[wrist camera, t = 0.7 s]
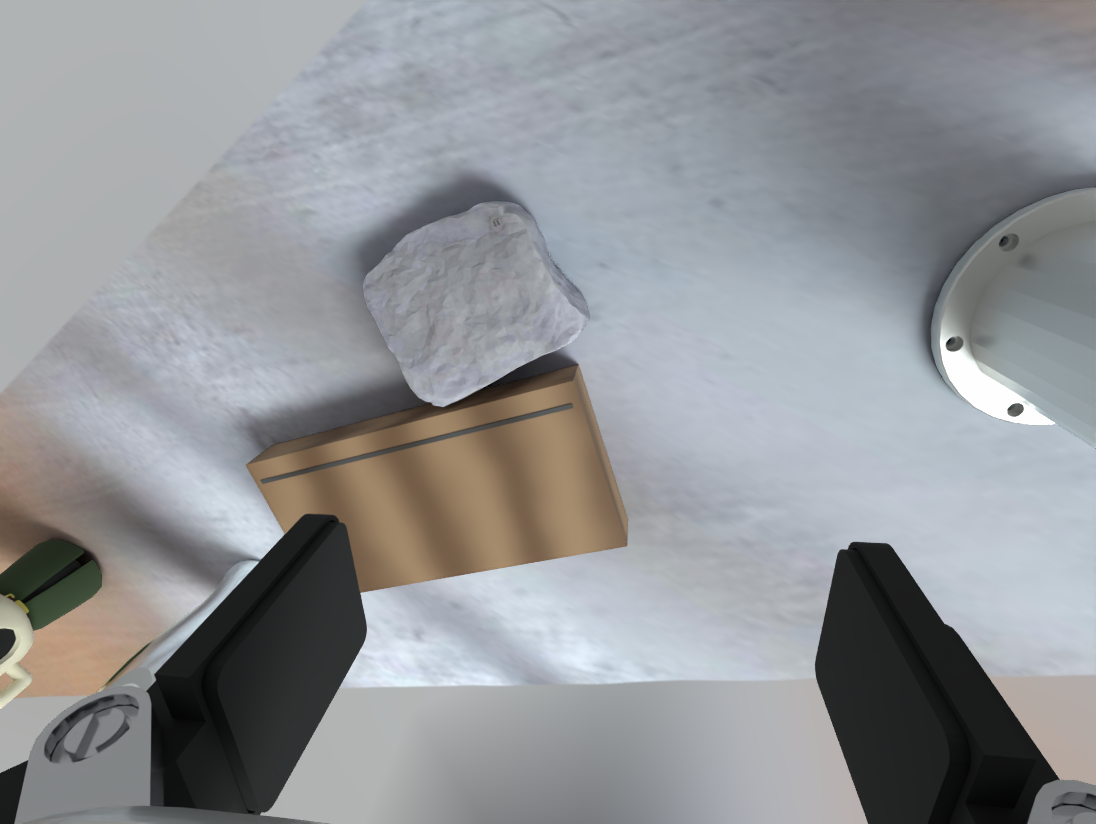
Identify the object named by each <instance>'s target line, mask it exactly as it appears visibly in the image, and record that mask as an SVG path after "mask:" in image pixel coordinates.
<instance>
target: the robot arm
mask: <svg viewBox="0 0 1096 824" xmlns="http://www.w3.org/2000/svg"><path fill="white" fill-rule="evenodd" d="M1002 238H1004V240H1003V242H1002V243H1001V244H1000V245H999V242H1000V240H1001V239H1002ZM950 338H951V340H950V342H948V343H946V342H947V341H948V340H949V339H950ZM931 349H932V352H933V356H934V360H935V363H936V367H937V368H938V370H939V372H940V374H941V376H942V377H943V379H944V381H945V383H946V384H947V385H948V386H949V387H950V388H951V389H952V390H953V391H954V392H955V393H956V394H957V395H958V396H959V397H960V398H961V399H963V400H964V401H966V402H967V403H968V404H969V405H971V406H972V407H973V408H975V409H977V410H979V411H981V412H983V413H985V414H987V415H989V416H991V417H993V418H996V419H1000V420H1003V421H1006V422H1010V423H1017V424H1026V425H1055V424H1057V425H1058V426H1060V427H1062V428H1063V429H1065V430H1066V431H1068V432H1070V433H1071V434H1073V435H1074V436H1076V437H1078V438H1079V439H1081V440H1082V441H1084V442H1085V443H1087V444H1089V445H1090V446H1092V447H1093V448H1095V449H1096V187H1092V188H1083V189H1075V190H1071V191H1068V192H1064V193H1060V194H1057V195H1053V196H1050V197H1046V198H1044V199H1042V200H1040V201H1037V202H1035V203H1033V204H1031V205H1029V206H1026V207H1024V208H1022V209H1020V210H1018V211H1017V212H1015V213H1013V214H1012V215H1010V216H1009V217H1007V218H1006V219H1004V220H1002V221H1001V222H999V223H998V224H996V225H995V226H994V227H992V228H991V229H990V230H989V231H988V232H987V233H985V234H984V235H983V236H982V237H981V238H980V239H978V240H977V241H976V242H975V243H974V244H973V245H972V246H971V247H970V249H969V250H968V251H967V252H966V253H965V254H964V256H963V257H962V258H961V259H960V260H959V261H958V262H957V264H956V265H955V267H954V268H953V270H952V272H951V273H950V275H949V277H948V278H947V280H946V281H945V283H944V285H943V287H942V290H941V292H940V295H939V297H938V300H937V302H936V305H935V308H934V313H933V318H932V324H931ZM366 633H367V625H366V619H365V614H364V609H363V605H362V600H361V595H360V590H359V585H358V580H357V575H356V570H355V565H354V560H353V556H352V551H351V546H350V541H349V536H348V531H347V527H346V525H345V524H344V523H342V522H339V519H338V518H337V517H336V516H335V515H328V514H309V513H308V514H305V515H303V516H302V517H301V518H300V519H299V520H298V521H297V522H296V523H295V524H294V525H293V526H292V527H291V528H290V530H289V531H288V532H287V533H286V534H285V535H284V536H283V537H282V538H281V539H280V540H279V541H278V542H277V543H276V545H275V546H274V547H273V548H272V549H271V550H270V551H269V552H268V553H267V554H266V555H265V556H264V557H263V558H262V559H261V561H260V562H259V563H258V564H257V565H256V566H255V567H254V568H253V569H252V570H251V571H250V572H249V573H248V574H247V576H246V577H245V578H244V579H243V580H242V581H241V582H240V583H239V584H238V585H237V586H236V587H235V588H234V589H233V590H232V592H231V593H230V594H229V595H228V596H227V597H226V598H225V599H224V600H223V601H222V602H221V603H220V604H219V605H218V607H217V608H216V609H215V610H214V611H213V612H212V613H211V614H210V615H209V616H208V617H207V618H206V619H205V620H204V621H203V623H202V624H201V625H200V626H199V627H198V628H197V629H196V630H195V631H194V632H193V633H192V634H191V635H190V636H189V638H188V639H187V640H186V641H185V642H184V643H183V644H182V645H181V646H180V647H179V648H178V649H177V650H176V651H175V652H174V654H173V655H172V656H171V657H170V658H169V659H168V660H167V661H166V662H165V663H164V664H163V665H162V666H161V667H160V669H159V670H158V671H157V672H156V673H155V674H154V676H155V678H156V681H155V682H154V683H153V684H152V685H151V686H150V687H149V688H148V690H147V691H144V690H143V689H142V688H139V687H134V686H121V687H113V688H110V689H106V690H103V691H100V692H97V693H95V694H92V695H90V696H88V697H86V698H84V699H82V700H80V701H78V702H77V703H75V704H74V705H72V706H70V707H69V708H67V709H66V710H64V711H63V712H62V713H60V714H59V715H58V716H57V717H56V718H55V719H54V720H52V721H51V722H50V723H49V724H48V725H47V726H46V727H45V729H44V730H43V731H42V732H41V734H40V735H39V736H38V738H37V739H36V741H35V743H34V745H33V748H32V750H31V752H30V756H29V760H27V761H25V762H23V763H21V764H19V765H17V766H14V767H12V768H10V769H8V770H6V771H4V772H1V773H0V824H328V823H320V822H311V821H304V820H295V819H288V818H279V817H271V816H261V815H260V814H261V812H267V811H268V810H269V809H270V808H271V807H272V806H273V805H274V803H275V801H276V799H277V798H278V796H279V794H280V792H281V791H282V789H283V787H284V785H285V784H286V782H287V780H288V778H289V776H290V775H291V773H292V771H293V769H294V767H295V766H296V764H297V762H298V760H299V758H300V757H301V755H302V753H303V751H304V750H305V748H306V746H307V744H308V742H309V741H310V739H311V737H312V735H313V733H314V732H315V730H316V728H317V726H318V724H319V723H320V721H321V719H322V717H323V716H324V714H325V712H326V710H327V708H328V707H329V704H330V703H331V701H332V699H333V698H334V696H335V694H336V692H337V690H338V689H339V687H340V685H341V683H342V681H343V680H344V678H345V676H346V674H347V673H348V671H349V669H350V667H351V665H352V664H353V662H354V660H355V658H356V656H357V655H358V653H359V651H360V649H361V647H362V646H363V643H364V641H365V638H366ZM815 672H816V678H817V682H818V685H819V688H820V690H821V694H822V696H823V699H824V702H825V705H826V708H827V710H828V713H829V716H830V719H831V721H832V724H833V727H834V730H835V732H836V735H837V738H838V741H839V744H840V746H841V749H842V752H843V755H844V758H845V760H846V763H847V766H848V769H849V771H850V774H851V777H852V780H853V783H854V785H855V788H856V791H857V794H858V797H859V799H860V802H861V805H862V808H863V810H864V813H865V816H866V819H867V822H868V824H1096V786H1095V785H1092V784H1088V783H1084V782H1081V781H1076V780H1060V779H1059V778H1058V776H1057V775H1056V774H1055V772H1054V771H1053V769H1052V768H1051V766H1050V765H1049V764H1048V762H1047V761H1046V759H1045V758H1044V756H1043V755H1042V754H1041V752H1040V751H1039V749H1038V748H1037V746H1036V745H1035V743H1034V742H1033V741H1032V739H1031V738H1030V736H1029V735H1028V733H1027V732H1026V731H1025V729H1024V728H1023V726H1022V725H1021V723H1020V722H1019V721H1018V719H1017V718H1016V716H1015V715H1014V713H1013V712H1012V710H1011V709H1010V707H1008V705H1007V703H1006V702H1005V700H1004V699H1003V697H1002V696H1001V695H1000V693H999V692H998V690H997V689H996V687H995V686H994V685H993V683H992V682H991V680H990V679H989V677H988V676H987V674H986V673H985V672H984V670H983V669H982V667H981V666H980V664H979V663H978V662H977V660H976V659H975V657H974V656H973V654H972V653H971V651H970V650H969V649H968V647H967V646H966V644H965V643H964V641H963V640H962V639H961V637H960V636H959V635H958V633H957V632H956V631H955V630H954V629H953V628H952V627H950V626H948V625H946V624H944V623H943V621H942V620H941V618H940V617H939V615H938V614H937V612H936V611H935V610H934V608H933V607H932V605H931V604H930V602H929V601H928V599H927V598H926V596H925V595H924V593H923V592H922V590H921V589H920V587H919V586H918V585H917V583H916V582H915V580H914V579H913V577H912V576H911V574H910V573H909V571H908V570H907V568H906V567H905V565H904V564H903V563H902V561H901V560H900V558H899V557H898V555H897V554H896V552H895V551H894V549H893V548H892V547H891V546H890V545H889V544H886V543H867V542H852V543H851V544H850V546H849V548H848V550H844V549H842V550H840V551H839V552H838V555H837V560H836V564H835V569H834V574H833V579H832V584H831V588H830V593H829V598H828V603H827V608H826V612H825V617H824V622H823V627H822V632H821V636H820V641H819V646H818V651H817V656H816V661H815Z"/></svg>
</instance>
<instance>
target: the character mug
mask: <svg viewBox="0 0 1096 824" xmlns="http://www.w3.org/2000/svg"><path fill="white" fill-rule="evenodd" d="M83 553H85V552H84V551H83V550H82V549H81V548H79V547H77V546H75V545H73V544H71V543H69V542H67V541H61V540H56V539H51V540H49V541H46V542H43V543H40V544H38V545H37V546H35V547H34V548H33V549H31V550H30V551H29V552H27V553H26V554H25V555H23V556H22V557H21V558H20V559H18V560H17V561H16V562H15V563H14V564H12V565H11V566H10V567H9V568H8V569H6V570H5V571H4V572H3V573H1V574H0V676H1V675H2V674H3V673H6V674H7V675H9V676H10V677H11V678H12V679H13V680H14V681H13V682H12V683H11V684H10V685H9V686H7V687H6V688H5V689H4V690H2V691H1V692H0V709H1V708H2V707H4V705H6V704H7V703H8V702H9V701H11V700H12V699H13V698H14V697H15V696H17V695H18V694H19V693H20V692H21V691H23V690H24V689H25V688H26V687H27V686H28V685H29V684H30V683H31V681H32V680H33V678H32V676H31V673H30V672H29V671H27V670H26V669H25V668H24V667H23V666H22V665H21V664H20V663H18V662H19V661H20V660H21V659H22V658H23V657H24V656H25V654H26V653H27V652H28V650H29V649H30V647H31V646H32V644H33V643H34V632H33V631H34V630H37V629H41V628H43V627H45V626H46V625H48V624H50V623H51V622H53V621H55V620H56V619H58V618H60V617H61V616H63V615H65V614H66V613H68V612H70V611H71V610H73V609H75V608H76V607H78V606H79V605H81V604H82V603H84V602H85V601H87V600H88V599H90V598H91V597H93V596H94V595H95V594H96V593H97V591H98V590H99V589H100V588H101V587H102V575H101V573H100V571H99V569H98V567H97V565H96V563H95V562H94V561H93V560H92V561H90V562H89V563H87V564H85V565H84V566H82V567H81V566H80V564H79V563H78V562H77V561H75V559H76V558H78V557H79V556H81V555H82V554H83Z"/></svg>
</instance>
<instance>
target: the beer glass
mask: <svg viewBox="0 0 1096 824" xmlns="http://www.w3.org/2000/svg"><path fill="white" fill-rule="evenodd" d="M259 562H260V561H256V560H245V561H241V562H238V563H236V564H235V565H233V566H232V567H231V568H230V569H229V570H228V572H227V573H226V574H225V576H224V577H223V579H222V580H221V582H220V583H219V585H218V586H217V588H216V589H215V590H214V591H213V593H212V594H211V595H210V596H209V597H208V598H207V599H206V600H205V601H203V602H202V603H201V604H200V605H199V606H197V607H196V608H195V609H193V610H192V611H191V612H189V613H188V614H186V615H185V616H184V617H182V618H181V619H179V620H178V621H176V622H175V623H174V624H172V625H171V626H169V627H168V628H167V629H165V630H164V631H162V632H161V633H160V634H158V635H157V636H155V637H154V638H153V639H152V640H150V641H149V642H148V643H146V644H145V645H144V646H143V647H141V648H140V649H139V650H138V651H137V652H136V653H134V654H133V655H132V656H131V657H130V658H129V659H128V660H127V661H126V662H125V663H123V664H122V665H121V666H120V667H119V668H118V669H117V670H116V671H115V672H114V673H113V674H112V675H111V676H110V677H109V678H108V680H107V681H106V682H105V683H104V684H103V685H102V686H101V687H100V688H99V689H98V690H97V691H96V692H95V693H97V692H100V691H103V690H106V689H110V688H113V687H121V686H134V687H139V688H142V689H143V690H144V691H147V690H148V688H149V687H150V686H151V685H152V684H153V683H154V682H155V681H156V678H155V676H154V674H155V673H156V672H157V671H158V670H159V669H160V667H161V666H162V665H163V664H164V663H165V662H166V661H167V660H168V659H169V658H170V657H171V656H172V655H173V654H174V652H175V651H176V650H177V649H178V648H179V647H180V646H181V645H182V644H183V643H184V642H185V641H186V640H187V639H188V638H189V636H190V635H191V634H192V633H193V632H194V631H195V630H196V629H197V628H198V627H199V626H200V625H201V624H202V623H203V621H204V620H205V619H206V618H207V617H208V616H209V615H210V614H211V613H212V612H213V611H214V610H215V609H216V608H217V607H218V605H219V604H220V603H221V602H222V601H223V600H224V599H225V598H226V597H227V596H228V595H229V594H230V593H231V592H232V590H233V589H234V588H235V587H236V586H237V585H238V584H239V583H240V582H241V581H242V580H243V579H244V578H245V577H246V576H247V574H248V573H249V572H250V571H251V570H252V569H253V568H254V567H255V566H256V565H257V564H258V563H259Z"/></svg>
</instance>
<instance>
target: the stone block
mask: <svg viewBox="0 0 1096 824" xmlns="http://www.w3.org/2000/svg"><path fill="white" fill-rule="evenodd" d="M363 290H364V297H365V302H366V304H367V307H368V309H369V311H370V312H371V314H372V316H373V317H374V320H375V322H376V324H377V326H378V328H379V330H380V332H381V334H382V336H383V338H384V340H385V342H386V343H387V346H388V348H389V349H390V350H391V351H392V353H393V354H394V355H395V357H396V359H397V360H398V363H399V365H400V368H401V371H402V373H403V375H404V377H405V380H406V381H407V383H408V385H409V387H410V388H411V390H412V391H413V392H414V393H415V394H416V395H417V397H418V398H420V399H422V400H424V401H426V402H430V403H432V404H433V405H434V406H440V407H445V406H446V405H449V404H451V403H453V402H456V401H458V400H460V399H462V398H464V397H466V396H468V395H470V394H472V393H474V392H475V391H477V390H479V389H481V388H483V387H485V386H487V385H489V384H491V383H492V382H494V381H496V380H498V379H499V378H501V377H503V376H504V375H506V374H508V373H509V372H511V371H513V370H514V369H516V368H518V367H520V366H522V365H524V364H526V363H528V362H530V361H533V360H535V359H537V358H538V357H540V356H542V355H545V354H548V353H551V352H554V351H556V350H558V349H560V348H562V347H564V346H566V345H567V344H569V343H571V342H572V341H573V340H574V339H576V338H577V337H578V336H579V334H580V332H581V331H582V330H583V328H584V327H585V326H586V324H587V322H588V320H589V318H590V316H589V311H588V307H587V303H586V300H585V299H584V297H583V296H582V294H581V293H580V292H579V291H578V290H577V289H576V288H575V287H574V285H573V284H572V283H571V282H570V281H569V280H568V279H567V278H566V277H565V275H564V274H563V273H562V271H561V270H560V269H559V268H557V267H556V266H555V265H554V263H553V262H552V260H551V259H550V256H549V253H548V251H547V248H546V243H545V240H544V237H543V235H542V234H541V232H540V230H539V229H538V226H537V223H536V221H535V219H534V217H533V216H532V215H531V214H529V213H528V212H526V211H525V210H524V209H523V208H522V207H521V206H519V205H518V204H515V203H512V202H509V201H508V202H500V201H492V202H482V203H479V204H477V205H475V206H473V207H472V208H470V209H469V210H468V211H465V212H462V213H459V214H457V215H453V216H447V217H443V218H441V219H440V220H437V221H435V222H432V223H429V224H427V225H424V226H422V228H419V229H417V230H414V231H412V232H410V233H409V234H407V235H405V236H404V237H403V238H402V239H401V240H400V241H399V242H398V243H397V245H396V246H395V247H394V248H393V250H392V252H389V253H388V254H386V255H385V256H384V258H383V259H382V261H381V262H380V263H379V264H378V265H377V266H376V267H374V268H373V269H372V270H371V271H370V272H368V273H367V274H366V277H365V278H364V281H363Z"/></svg>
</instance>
